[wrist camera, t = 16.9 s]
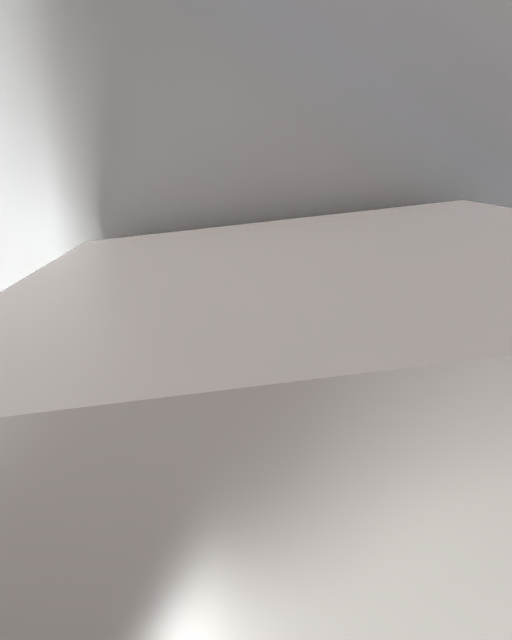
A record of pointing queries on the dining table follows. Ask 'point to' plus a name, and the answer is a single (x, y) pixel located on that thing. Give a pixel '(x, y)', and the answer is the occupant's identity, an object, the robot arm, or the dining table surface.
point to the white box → (263, 432)
